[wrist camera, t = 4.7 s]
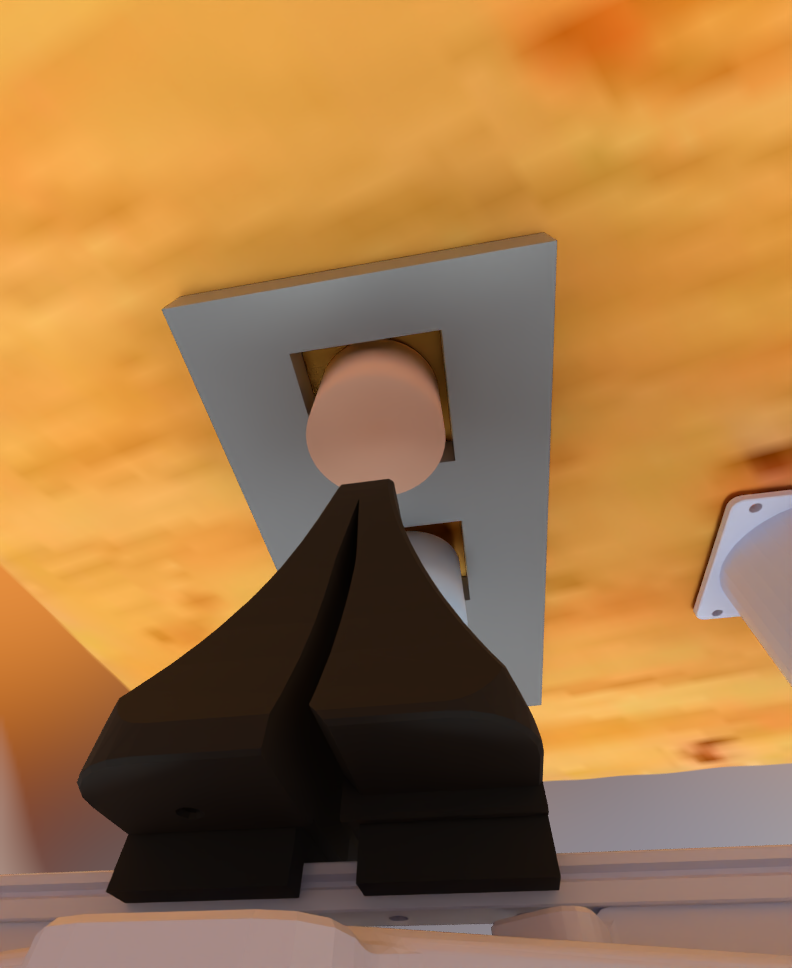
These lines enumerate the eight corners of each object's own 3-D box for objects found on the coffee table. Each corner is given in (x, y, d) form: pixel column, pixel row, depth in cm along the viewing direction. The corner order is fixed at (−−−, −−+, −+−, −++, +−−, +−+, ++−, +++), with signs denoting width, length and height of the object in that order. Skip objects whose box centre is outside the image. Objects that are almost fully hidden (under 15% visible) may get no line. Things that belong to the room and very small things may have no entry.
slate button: (454, 525, 20) (463, 582, 17) (463, 594, 22) (471, 654, 20) (353, 537, 20) (345, 595, 18) (372, 603, 23) (368, 663, 20)
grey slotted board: (544, 232, 15) (557, 240, 13) (535, 681, 29) (541, 704, 28) (180, 296, 16) (161, 309, 15) (345, 697, 30) (343, 719, 29)
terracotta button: (431, 329, 16) (437, 365, 13) (444, 440, 18) (451, 488, 16) (306, 349, 16) (288, 387, 14) (335, 454, 19) (325, 503, 16)
